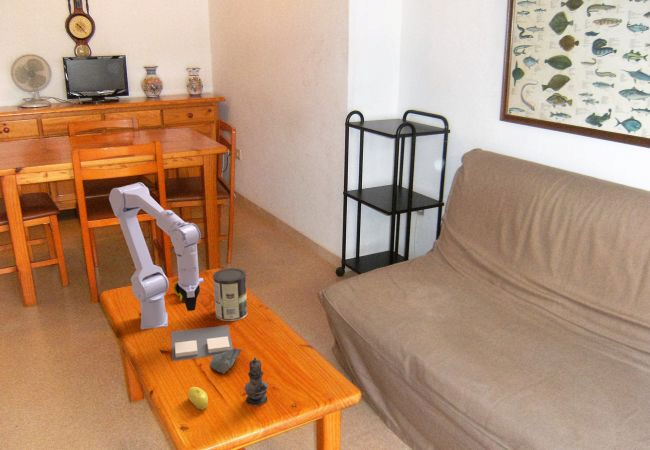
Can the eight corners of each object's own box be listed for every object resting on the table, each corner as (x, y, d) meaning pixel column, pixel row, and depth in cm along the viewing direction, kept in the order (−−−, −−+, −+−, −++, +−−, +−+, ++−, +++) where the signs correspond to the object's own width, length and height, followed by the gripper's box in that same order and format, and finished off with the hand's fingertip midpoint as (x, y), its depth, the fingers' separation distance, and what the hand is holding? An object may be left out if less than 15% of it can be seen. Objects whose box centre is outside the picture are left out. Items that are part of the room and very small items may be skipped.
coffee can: (238, 304, 200) (236, 265, 195) (253, 316, 191) (251, 276, 187) (210, 312, 194) (207, 272, 190) (223, 325, 186) (221, 283, 181)
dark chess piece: (245, 393, 152) (243, 351, 148) (268, 392, 152) (267, 350, 148) (244, 407, 146) (242, 364, 142) (268, 405, 147) (267, 363, 143)
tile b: (206, 338, 174) (208, 349, 168) (227, 336, 175) (229, 346, 170) (207, 343, 174) (208, 354, 169) (227, 341, 176) (230, 351, 170)
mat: (171, 333, 181) (171, 332, 181) (227, 326, 185) (227, 325, 185) (172, 362, 166) (172, 361, 165) (234, 354, 170) (234, 353, 170)
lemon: (195, 414, 143) (194, 401, 142) (186, 397, 150) (184, 384, 149) (212, 409, 145) (211, 396, 144) (202, 392, 152) (201, 379, 151)
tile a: (174, 342, 172) (175, 353, 166) (196, 340, 173) (197, 350, 168) (175, 347, 172) (175, 358, 167) (196, 345, 174) (197, 355, 168)
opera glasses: (195, 303, 203) (196, 289, 201) (179, 303, 200) (181, 289, 199) (187, 292, 211) (189, 279, 210) (172, 292, 208) (174, 279, 207)
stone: (205, 382, 158) (241, 372, 157) (200, 369, 157) (236, 359, 157) (213, 364, 169) (247, 355, 168) (208, 352, 168) (242, 342, 167)
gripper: (204, 274, 164) (207, 319, 168) (200, 255, 177) (203, 297, 182) (178, 277, 162) (181, 322, 167) (175, 258, 176) (179, 300, 180)
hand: (191, 309), depth 174 cm, fingers closed
